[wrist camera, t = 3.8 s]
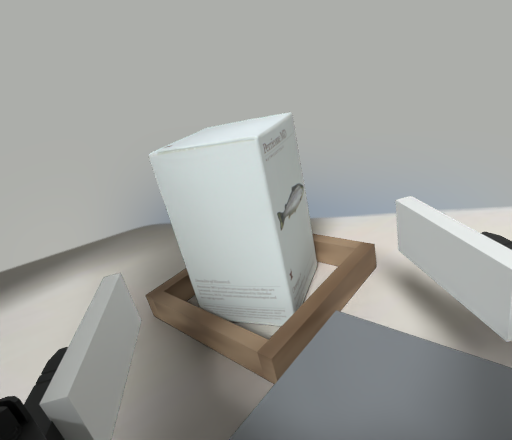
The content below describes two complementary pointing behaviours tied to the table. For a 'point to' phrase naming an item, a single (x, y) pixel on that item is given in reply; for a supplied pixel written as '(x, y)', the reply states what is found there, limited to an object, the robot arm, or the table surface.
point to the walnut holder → (291, 332)
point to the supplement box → (241, 217)
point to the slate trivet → (383, 390)
